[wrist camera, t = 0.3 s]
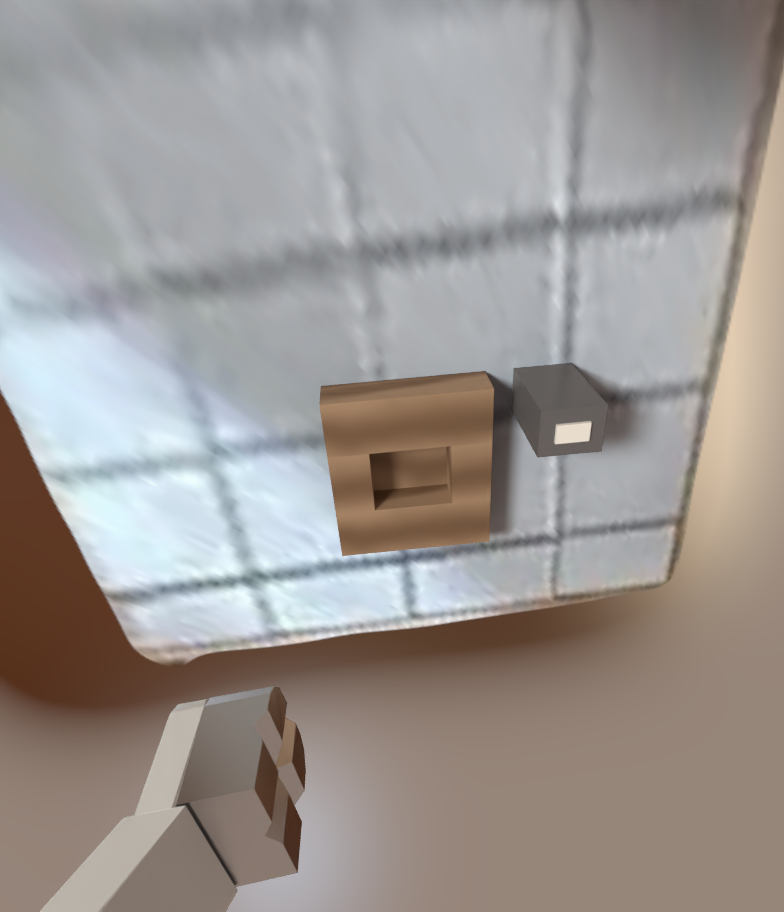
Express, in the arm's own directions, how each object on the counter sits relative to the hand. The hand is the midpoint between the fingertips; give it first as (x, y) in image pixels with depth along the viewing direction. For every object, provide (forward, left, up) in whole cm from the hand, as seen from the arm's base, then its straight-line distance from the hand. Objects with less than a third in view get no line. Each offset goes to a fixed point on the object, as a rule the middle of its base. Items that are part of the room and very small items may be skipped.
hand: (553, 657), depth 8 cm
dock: (+21, 0, -39) cm, 44 cm away
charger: (+15, +12, -39) cm, 43 cm away
